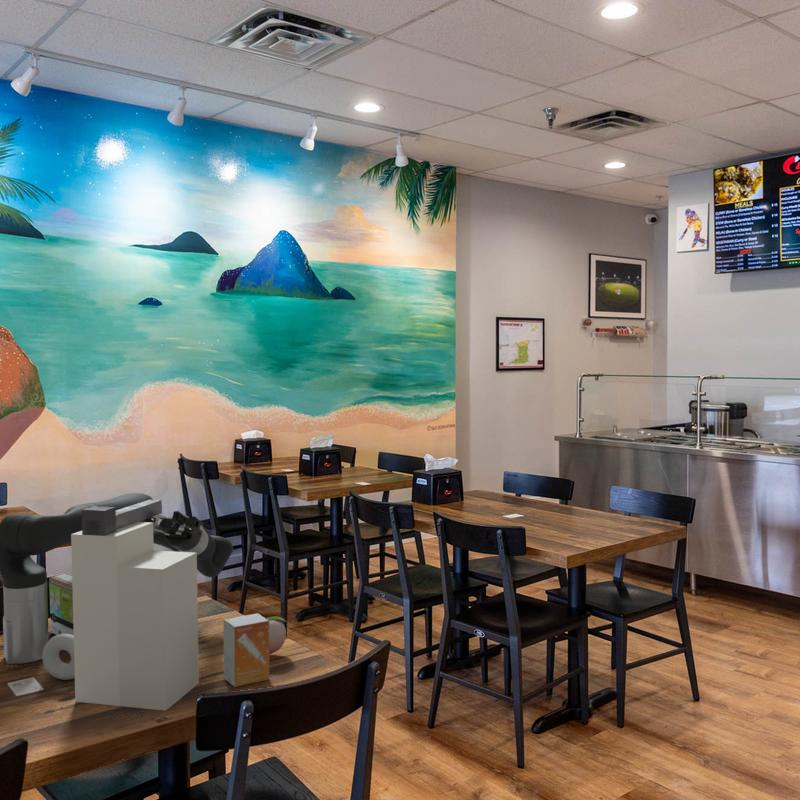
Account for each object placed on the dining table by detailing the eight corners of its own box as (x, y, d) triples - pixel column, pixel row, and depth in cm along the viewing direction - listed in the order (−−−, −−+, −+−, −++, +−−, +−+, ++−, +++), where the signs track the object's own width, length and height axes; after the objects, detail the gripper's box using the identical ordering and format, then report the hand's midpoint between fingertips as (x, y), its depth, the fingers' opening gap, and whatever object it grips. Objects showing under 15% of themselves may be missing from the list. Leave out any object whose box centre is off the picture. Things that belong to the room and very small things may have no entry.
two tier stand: (114, 675, 179) (111, 520, 177) (199, 683, 174) (196, 524, 173) (75, 701, 165) (71, 534, 164) (165, 710, 161) (162, 538, 159)
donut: (39, 681, 176) (38, 635, 175) (48, 675, 179) (47, 630, 179) (83, 683, 175) (82, 637, 174) (91, 677, 178) (90, 632, 177)
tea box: (49, 634, 206) (47, 575, 206) (86, 624, 214) (85, 568, 213) (79, 647, 197) (77, 586, 196) (117, 636, 204) (116, 577, 204)
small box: (234, 688, 172) (233, 626, 171) (223, 678, 177) (222, 618, 176) (270, 679, 176) (269, 620, 175) (258, 670, 181) (257, 612, 181)
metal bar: (145, 512, 186) (145, 490, 186) (165, 513, 185) (165, 491, 185) (82, 534, 163) (81, 509, 163) (104, 535, 162) (104, 510, 162)
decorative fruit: (253, 666, 184) (253, 622, 183) (242, 654, 191) (241, 612, 191) (293, 658, 188) (292, 615, 188) (280, 647, 196) (280, 606, 195)
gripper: (211, 553, 196) (181, 531, 182) (157, 550, 199) (124, 528, 185) (217, 522, 199) (189, 499, 185) (164, 520, 202) (132, 496, 188)
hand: (157, 513), depth 185 cm, fingers open, 8 cm apart
